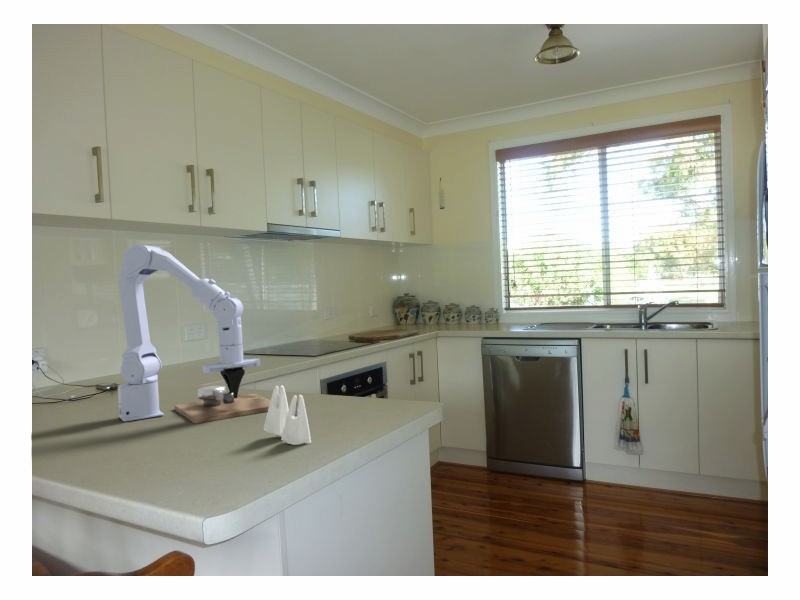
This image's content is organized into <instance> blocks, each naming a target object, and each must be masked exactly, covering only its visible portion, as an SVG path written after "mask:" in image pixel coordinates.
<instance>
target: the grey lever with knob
mask: <svg viewBox="0 0 800 600" xmlns="http://www.w3.org/2000/svg"><path fill="white" fill-rule="evenodd" d="M197 398H198V400H201V401H204V400H210V399H216V400H219V401H222V402H223V403H224V404H229V403H234V392H230V391H227V390H226V386H225V385H209V386H204V387H200V388H197Z"/></svg>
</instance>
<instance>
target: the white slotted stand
mask: <svg viewBox="0 0 800 600" xmlns="http://www.w3.org/2000/svg"><path fill="white" fill-rule="evenodd" d="M270 400H271V401H270V405H269V408H268V412H267V413H266V417H265V421H264V425H263V431H265V432H266V433H269V434H271V435H275V436H277V437H280V438H281V439H280V440H281V441H285V442H286V443H287V444H289V445H292V446H294V445H295V446H296V445H297V446H298V445H303V444H312V440H311V432H310V431H311V430H310V426H309V422H308V415H307V410H306V409H307V408H306V405H305V399H304V396H303V395H302V394H299V395H298V397H297V395H295V394H294V395H293V397H292V399H291V402H290V405H289V403H288V399H287V394H286V389H285V387H284V385H280V387H279V386H278V385H275V386H274V389H273V390H272V394H271V398H270Z"/></svg>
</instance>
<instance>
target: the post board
mask: <svg viewBox="0 0 800 600" xmlns="http://www.w3.org/2000/svg"><path fill="white" fill-rule="evenodd" d="M270 401H271V399H269V398H266V397H264V396H261V395H259V394H256V393H254V392H253V393H247V394H241V395H239V394H238V395H237V398H235V399H234V403H229V404H224V403H223V402H222V401H219V400H216V399H210V400H201V401H193V402H186V403H179V404H178V403H177V404H174V405H173V407H174V408H173V409H174V411H176V412H178V413H179V414H180V415H182V416H184V417H185V418H186V419H187V420H189V421H191V423H193V424H196V425H197V424H202V423H207V422H208V423H209V422H213V421H220V420H226V419H232V418H236V417H237V418H238V417H242V416H243V415H244V416H248V415H249V414H250V415H255V413H256V414H261V412H262V413H266V411H268V408H269V405H270ZM244 416H243V417H244Z"/></svg>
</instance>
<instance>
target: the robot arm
mask: <svg viewBox="0 0 800 600" xmlns="http://www.w3.org/2000/svg"><path fill="white" fill-rule="evenodd" d="M122 261H123V262H122V265H121V268H120V271H119V275H118V287H119V294H120V299H121V307H122V315H123V321H124V329H125V330H124V331H125V336H126V345H127V346H126V348H125V350H124V351H123V353H122V355H121V357H122V361H121V366H120V375H121V377H122V379H123V380H124V381H125V382H126V383H125V384H124V383H123V384H119V385H117V398H118V401H117V402H118V408H117V409H118V417H119V418H120V420H121V421H122V422H129V421H135V420H136V421H137V420H142V419H149V418H155V417H162V416H164V415H165V413H164V412H162V411H161V410H160V396H159V380H158V379H159V377H158V375H159V374H160V373H161V372H162V368H163V367H162V366H163V364H162V360H161V358H159V356H158V354H157V352H158V351H157V349H156V347H155V346H154V345H153V344H152V343H151V337H150V336H151V335H150V330H149V323H148V315H147V307H146V301H145V300H146V299H145V293H144V292H145V291H144V283H145V281H146V280H148V278H149V277H150V276H151V275H152V274H154V273H156V272H158V271H164V272H166V273H168V274H169V275H171V276H172V277H173V278H174V279H176V280H178V281H179V282H180V283H182V284H184V285H185V286H187V287H188V288H190V290H191V295H192V297H194V298H195V299H196V300H197V301H199V302H200V303H201V304H203V305H204V306H205V307H207V308H208V309H209V310H210V311H212V313H213V315H214V317H215V319H216V320H217V329H218V331H217V332H218V345H219V346H218V347H219V362H214V363H210V364H202V365H201V366H202V373H203V374H206V375H207V374H210V373H217V372H219V373H220V374H221V376H222V379H223V380H224V382H225V384H226V386H227V388H228V390H229V391H228V392H234V399H235V398H237V396H239V389H240V385H241V383H242V380H243V378H244V376H245V373H246V372H245V368H246V369H247V368H253V367H261V359H260V358H247V359H244V344H243V342H244V341H243V328H242V315H243V313H244V309H245V307H244V304H243V302H242V301H241V300H240V299H239V298H238V297H236V296H231V293H230V292H228V291H225V290H223V289H222V288H220V287H219V286H218V285H217V284H216V283H217V282H216V280H215V279H212V278H211V279H209V278H206V277H205V278H199V277H198V275H196V274H195V273H194V272H193V271H191V270H190V269H188V268H187V266H185V265H184V264H183V263H181V261H179V259H177V258H175V256H174V255H172V254H171V253H170V252H168V251H165V250H164V249H163V248H162V247H160V246H158V245H144V244H142V243H134V244H132V245H130V246H129V247H128V248H127V250H125V251H124V253H122Z"/></svg>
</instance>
